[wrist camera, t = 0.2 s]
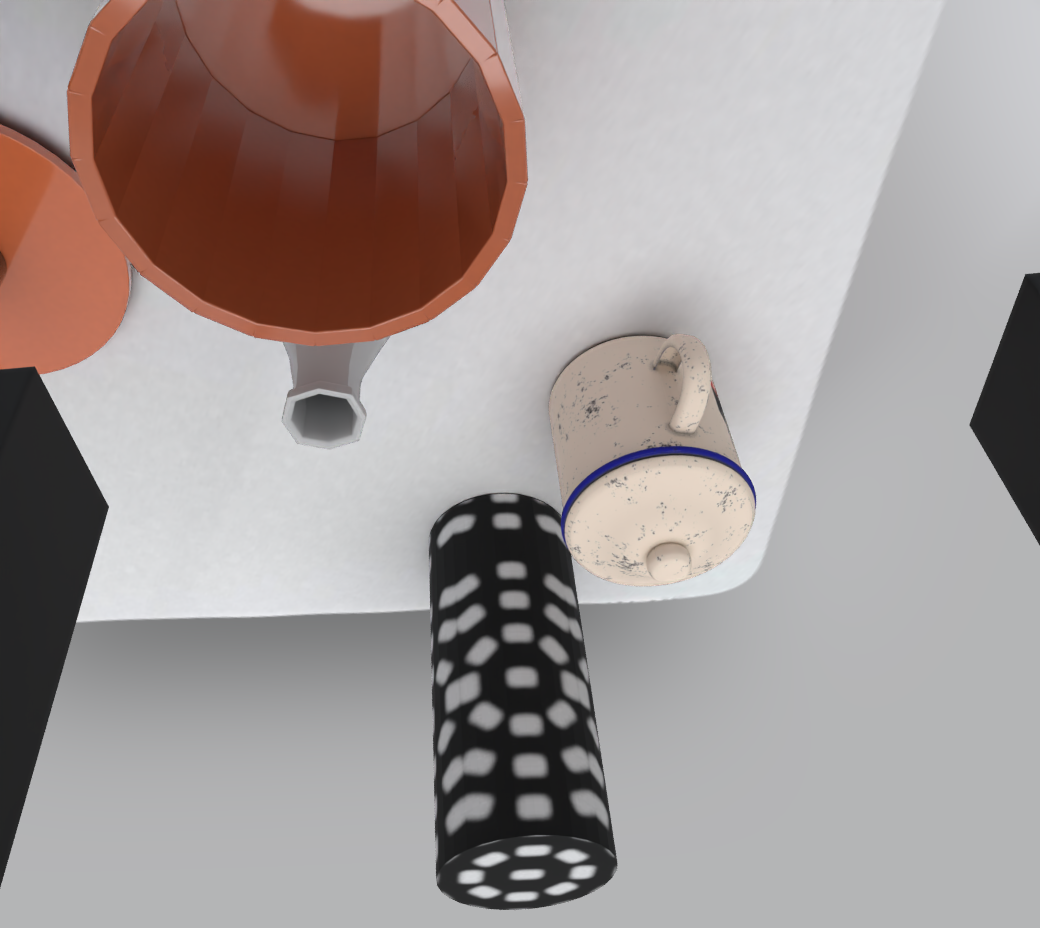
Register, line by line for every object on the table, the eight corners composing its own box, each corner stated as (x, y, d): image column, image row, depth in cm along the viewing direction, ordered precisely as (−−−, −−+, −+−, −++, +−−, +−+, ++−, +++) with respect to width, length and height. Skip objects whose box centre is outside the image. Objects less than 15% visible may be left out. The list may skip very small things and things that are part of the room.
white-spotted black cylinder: (426, 583, 62) (432, 913, 48) (431, 492, 56) (440, 838, 42) (558, 582, 63) (602, 905, 49) (576, 493, 57) (632, 831, 43)
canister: (105, -190, 32) (-15, -47, 23) (483, -220, 32) (514, -91, 23) (210, 158, 41) (153, 362, 31) (506, 132, 41) (535, 327, 32)
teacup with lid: (683, 465, 56) (730, 637, 48) (526, 449, 54) (547, 626, 46) (764, 292, 48) (837, 464, 40) (582, 266, 46) (620, 442, 38)
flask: (422, 330, 48) (425, 480, 41) (270, 337, 47) (246, 490, 40) (411, 195, 42) (412, 341, 35) (240, 202, 42) (207, 350, 35)
